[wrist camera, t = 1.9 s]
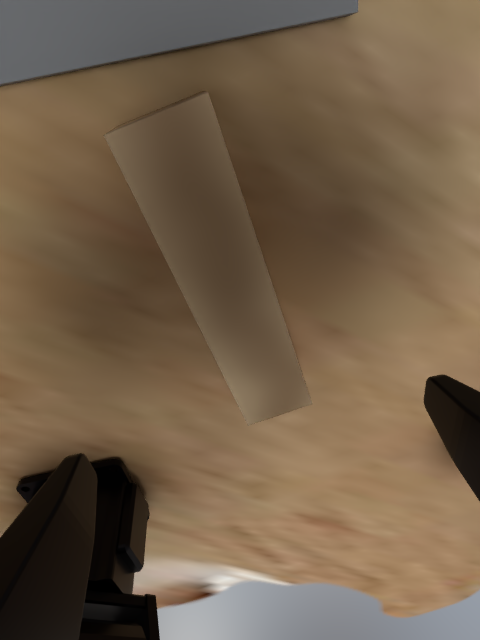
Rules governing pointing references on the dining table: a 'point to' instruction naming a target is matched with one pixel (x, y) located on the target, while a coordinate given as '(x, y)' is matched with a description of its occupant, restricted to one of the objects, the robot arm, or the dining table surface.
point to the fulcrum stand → (135, 29)
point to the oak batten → (212, 250)
